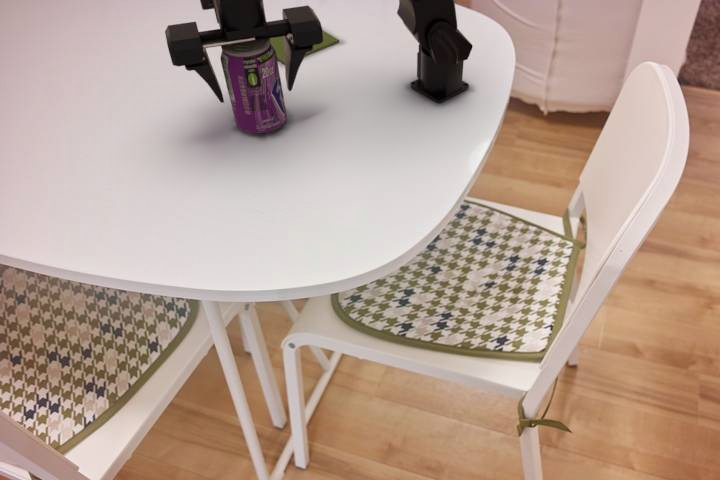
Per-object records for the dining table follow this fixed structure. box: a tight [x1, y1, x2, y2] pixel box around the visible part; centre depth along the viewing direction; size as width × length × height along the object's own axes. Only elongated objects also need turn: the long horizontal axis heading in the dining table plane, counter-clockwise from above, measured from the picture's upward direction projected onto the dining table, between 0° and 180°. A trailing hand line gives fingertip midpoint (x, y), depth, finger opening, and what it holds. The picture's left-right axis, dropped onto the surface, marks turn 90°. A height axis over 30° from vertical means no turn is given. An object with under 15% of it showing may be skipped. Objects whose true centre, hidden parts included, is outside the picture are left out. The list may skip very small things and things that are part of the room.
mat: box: [270, 29, 340, 65], centre depth 102 cm, size 11×11×1 cm
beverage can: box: [220, 38, 288, 134], centre depth 82 cm, size 7×7×12 cm
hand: (256, 95), depth 83 cm, fingers open, 9 cm apart
